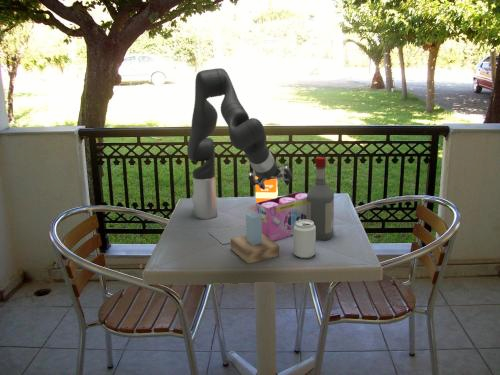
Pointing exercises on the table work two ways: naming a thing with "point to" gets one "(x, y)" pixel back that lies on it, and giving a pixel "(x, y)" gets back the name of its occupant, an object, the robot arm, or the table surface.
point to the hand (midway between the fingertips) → (275, 185)
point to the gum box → (282, 214)
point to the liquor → (321, 203)
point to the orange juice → (267, 190)
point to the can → (304, 238)
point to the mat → (228, 234)
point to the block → (254, 228)
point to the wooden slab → (254, 249)
